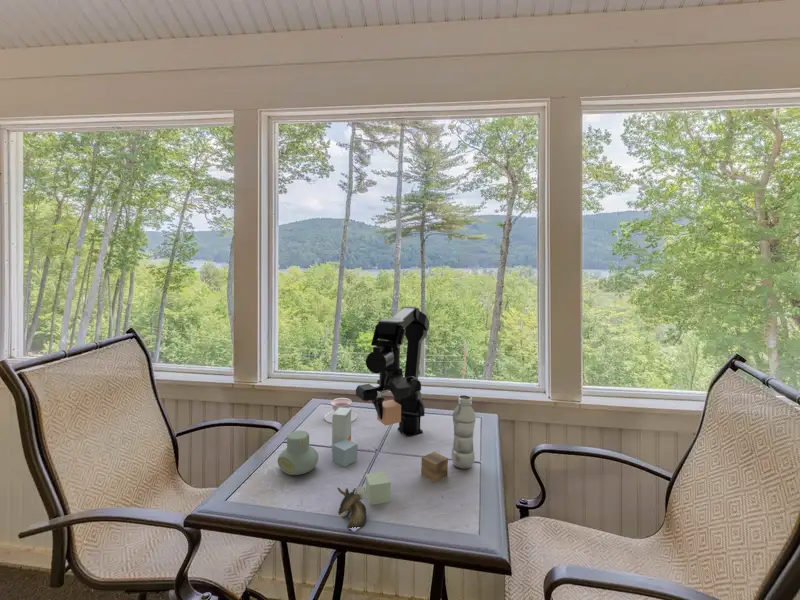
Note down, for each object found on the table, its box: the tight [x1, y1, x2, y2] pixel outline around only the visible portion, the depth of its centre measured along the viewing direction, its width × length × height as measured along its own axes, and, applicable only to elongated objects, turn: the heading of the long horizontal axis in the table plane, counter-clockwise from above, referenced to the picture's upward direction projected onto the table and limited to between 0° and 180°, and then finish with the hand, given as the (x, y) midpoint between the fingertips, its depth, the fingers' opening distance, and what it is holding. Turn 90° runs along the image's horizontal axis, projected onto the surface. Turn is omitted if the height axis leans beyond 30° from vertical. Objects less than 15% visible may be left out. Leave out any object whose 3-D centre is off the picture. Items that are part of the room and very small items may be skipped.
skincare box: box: [331, 407, 352, 453], centre depth 117 cm, size 6×4×12 cm
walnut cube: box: [420, 451, 449, 483], centre depth 104 cm, size 5×5×5 cm
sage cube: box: [365, 471, 391, 506], centre depth 94 cm, size 5×5×5 cm
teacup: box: [323, 397, 358, 424], centre depth 141 cm, size 12×12×6 cm
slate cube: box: [332, 439, 358, 467], centre depth 111 cm, size 5×5×5 cm
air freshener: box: [277, 430, 320, 476], centre depth 106 cm, size 11×8×10 cm
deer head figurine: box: [336, 485, 367, 529], centre depth 86 cm, size 8×7×9 cm
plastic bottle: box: [451, 394, 477, 470], centre depth 109 cm, size 6×7×20 cm
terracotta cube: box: [376, 399, 401, 426], centre depth 110 cm, size 5×5×5 cm
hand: (388, 417), depth 110 cm, fingers closed on terracotta cube, 5 cm apart
